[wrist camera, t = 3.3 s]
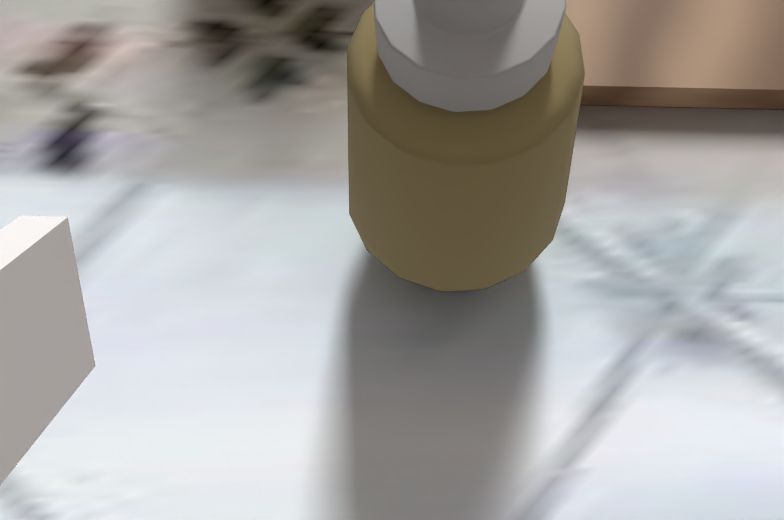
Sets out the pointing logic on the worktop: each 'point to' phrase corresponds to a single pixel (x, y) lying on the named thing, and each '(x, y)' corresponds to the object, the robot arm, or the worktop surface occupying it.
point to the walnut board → (681, 52)
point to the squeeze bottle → (461, 135)
